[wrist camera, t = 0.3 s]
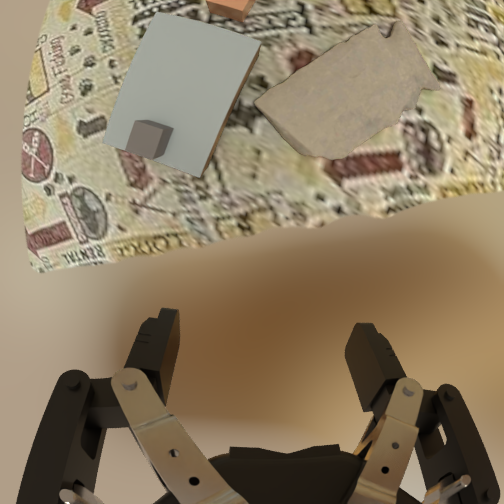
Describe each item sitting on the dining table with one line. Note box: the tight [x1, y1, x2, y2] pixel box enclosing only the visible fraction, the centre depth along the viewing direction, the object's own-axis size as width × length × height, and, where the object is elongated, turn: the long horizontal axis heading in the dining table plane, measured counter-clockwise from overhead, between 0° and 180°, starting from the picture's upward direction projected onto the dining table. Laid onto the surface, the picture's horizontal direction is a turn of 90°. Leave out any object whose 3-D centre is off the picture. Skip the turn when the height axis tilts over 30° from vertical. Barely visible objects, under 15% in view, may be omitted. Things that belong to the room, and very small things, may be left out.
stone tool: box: [254, 21, 440, 160], centre depth 30 cm, size 13×4×25 cm
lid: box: [102, 12, 261, 178], centre depth 24 cm, size 16×12×5 cm
